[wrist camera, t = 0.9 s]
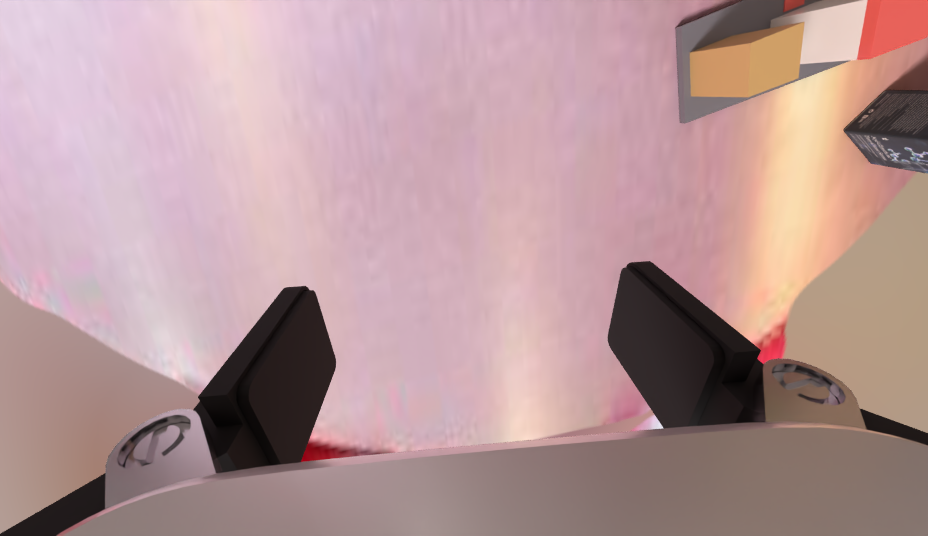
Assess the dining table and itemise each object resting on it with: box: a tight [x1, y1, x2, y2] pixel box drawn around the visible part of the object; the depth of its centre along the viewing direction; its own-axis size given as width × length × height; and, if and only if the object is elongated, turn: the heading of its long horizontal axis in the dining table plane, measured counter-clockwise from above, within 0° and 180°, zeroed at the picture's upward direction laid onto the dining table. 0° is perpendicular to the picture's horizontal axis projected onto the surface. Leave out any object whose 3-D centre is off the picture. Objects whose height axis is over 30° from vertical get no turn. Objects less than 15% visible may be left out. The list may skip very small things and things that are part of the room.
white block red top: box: [770, 0, 928, 64], centre depth 31 cm, size 4×4×10 cm
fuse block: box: [676, 0, 851, 123], centre depth 33 cm, size 10×23×9 cm, turn 110°
